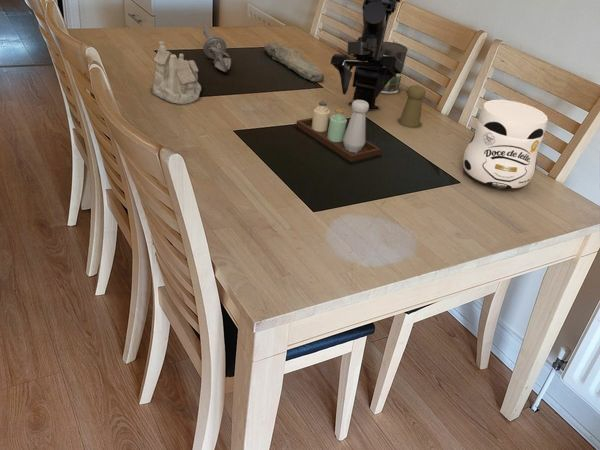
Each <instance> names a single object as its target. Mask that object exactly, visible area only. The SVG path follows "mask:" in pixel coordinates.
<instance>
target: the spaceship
mask: <svg viewBox="0 0 600 450" xmlns="http://www.w3.org/2000/svg"><path fill="white" fill-rule="evenodd" d="M202 31H203V35H204V37H205V38H206V40H205V42H204V43H203V46H202V47H203V53H204V55H205V56H206V57H207V58H209V59H211V60H212V59H213V65H214V67H215V68H216V69H218V70H219V71H222V72H224V73H228V72H229V70H230V69H231V65H232V59H231V57H230V55H229V54H228V53H227V52H226V51H227V43H226V41H225V40H224V38H222V37H220V36H216V35H215V34H211V30H210V28H209V27H208V26H207V25H205V26H204V27H203V29H202ZM224 55H225V56H226V57H224Z"/></svg>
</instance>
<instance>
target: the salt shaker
mask: <svg viewBox="0 0 600 450" xmlns="http://www.w3.org/2000/svg"><path fill="white" fill-rule="evenodd" d="M351 102H352V105H350V106H351V111H352V114H351V116H350V119H349V122H348V124H347V126H346V128H347V129H346V132H345V135H344V137H343V143H344V147H345V149H346V150H348V151H349V152H356V153H357V152H359V151H361V149H362V148H363V146H364V145H365V140H366V113H367V112H368V111H369V110H368V109H369V104H368V103H367V102H366V101H364V100H355V101H353V100H352V101H351Z"/></svg>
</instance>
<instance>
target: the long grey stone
mask: <svg viewBox="0 0 600 450" xmlns="http://www.w3.org/2000/svg"><path fill="white" fill-rule="evenodd" d="M263 50H264V51H265V52H266V53H267V54H268V55H269V57H271V60H275V61H277V62H279V64H282V65H285V66H286V67H287V69H289V70H292V71H293V72H294V73H295V74H296V75H298V76H299V77H301V78H304V79H306V80H308V81H311V82H323V80H324V77H325V76H324V72H323V70H321V69H320V68H319V67H317V65H315V64H314V63H312V62H310V61H309V60H307V59H306V58H305V57H303V56H302V54H301V53H300V52H299V51H297V50H295V49H293V48H291V47H290V46H289V47H288V46H286V45H283V44H280V43H278V42H271V41H267V42H266V43H264V48H263Z"/></svg>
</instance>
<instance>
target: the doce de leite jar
mask: <svg viewBox="0 0 600 450" xmlns="http://www.w3.org/2000/svg"><path fill="white" fill-rule="evenodd" d="M548 120H549V119H548V115H547V114H545V113H544V112H543V111H541V110H540V109H538V108H536V107H534V106H532V105H529V104H526V103H524V102H523V103H522V102H519V101H514V100H508V99H491V100H487V101H486V102H484V103H483V105H482V107H481V109H480V112H479V117H478V118H477V120H476V121H477V122H476V124H475V125H476V126H475V129H474V132H473V136H472V138H471V140H470V141H469V143H468V144H467V146H466V148H465V150H464V153H463V159H462V167H463V170H464V171H465V173H466V174H467V175H468V177H470V178H471V179H472V180H474V181H476V182H477V183H480V184H482V185H484V186H486V187H491V188H493V189H499V190H507V191H508V190H516V189H522V188H523V187H525V186H526V185H528V184H529V182H530V181H531V180H532V178H533V176H534V175H535V171H536V169H537V157H538V152H539V148H540V146H541V144H542V141H543V139H544V135H545V132H546V130H547V127H548Z"/></svg>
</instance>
